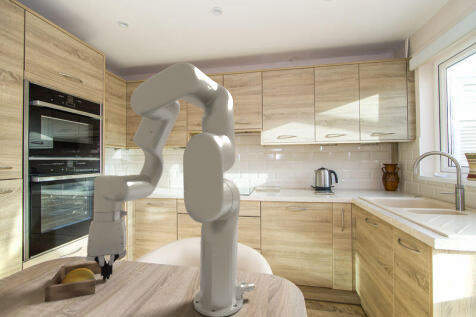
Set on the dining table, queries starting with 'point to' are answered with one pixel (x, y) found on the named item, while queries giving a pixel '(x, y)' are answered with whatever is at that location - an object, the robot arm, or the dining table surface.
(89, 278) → the bread roll
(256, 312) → the dining table surface
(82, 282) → the brown u-shaped frame
